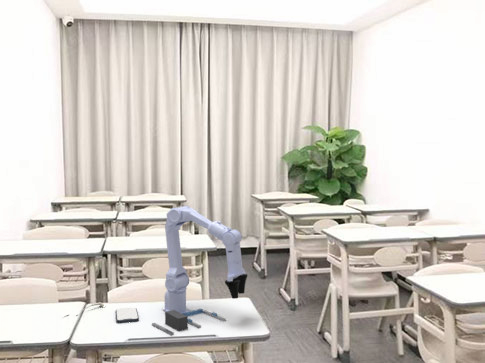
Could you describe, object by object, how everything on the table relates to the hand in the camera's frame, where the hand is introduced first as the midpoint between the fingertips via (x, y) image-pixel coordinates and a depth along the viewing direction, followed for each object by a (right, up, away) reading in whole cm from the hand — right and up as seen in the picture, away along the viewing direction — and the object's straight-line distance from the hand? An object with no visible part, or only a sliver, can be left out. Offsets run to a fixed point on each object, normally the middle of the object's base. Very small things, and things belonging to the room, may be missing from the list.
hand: (238, 295), depth 195 cm
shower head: (-64, -10, +13) cm, 67 cm away
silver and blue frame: (-19, -11, -1) cm, 22 cm away
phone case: (-45, -11, +7) cm, 47 cm away
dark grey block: (-24, -11, -5) cm, 26 cm away
